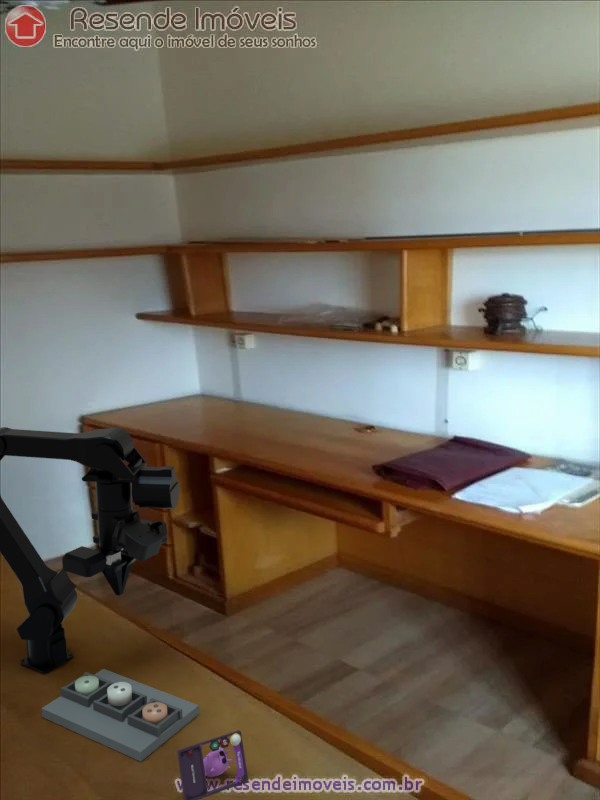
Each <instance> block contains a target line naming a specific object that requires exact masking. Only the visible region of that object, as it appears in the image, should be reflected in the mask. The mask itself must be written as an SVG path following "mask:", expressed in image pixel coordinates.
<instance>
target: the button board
mask: <svg viewBox="0 0 600 800" xmlns="http://www.w3.org/2000/svg"><path fill="white" fill-rule="evenodd" d="M84 676H95V677H97V678H98V680H99V688H98V689H97V690H95V691H94V692H92V693H91V694H89V695H88V696H85V695H82V694H80V693H77V692H75V682H76V680H77V679H79V678H81V677H84ZM117 682H127V683H129V684H130V685H131V687H132V700H131V701H130V702H129V703H128V704H126V705H123V706H113V705H110V704H109V703H108V694H107V689H108V687H109V686H110V685H112V684H114V683H117ZM154 702H160V703H163V704H165V705H166V706H167V717H166V718H165V719H164V720H162V721H161V722H160V723H159V724H157V725H154V724H152V723H150V722H147V721H145V720H143V713H142V710H143V708H144V707H145V706H146V705H147V704H150V703H154ZM199 715H200V705H198V704H197V703H193V702H191V701H188V700H187V699H186V700H185V699H183V698H181V697H178V696H175V695H173V694H170V693H167V692H166V691H162V690H159V689H158V688H155V687H152V686H149V685H146V684H145V683H141V682H139V681H137V680H134V679H131V678H129V677H126V676H124V675H121V674H118V673H115V672H113V671H111V670H109V669H108V670H107V669H106V668H103V669H100V670H99V671H98V672H96V673H95V674H92V673H90V672H88V671H86V672H84V673H83V675H80V676H79V677H78V678H76V679H74V680H73V681H71V682H69V683H68V684H67V685H65V686H61V687H60V696H59V697H57V698H55V699H53V701H51V702H50V703H48V704H46V705H44V706H43V707H41V717H42V718H43V717H44V719H46V720H48V721H49V722H52V723H55V724H56V725H58V726H61V727H64V728H66V729H67V730H70V731H71V732H72V731H73V732H74V733H76V734H78V735H80V736H83V737H85V738H88V739H90V740H92V741H94V742H95V743H96V742H97V743H99V744H101V745H102V746H105V747H107V748H110V749H112V750H115V751H116V752H118V753H121V754H123V755H125V756H127V757H129V758H132V759H134V760H136V761H138V762H142V761H144V760H145V759H146V758H147V757H149V755H151V754H152V753H153V752H155V751H156V750H157V749H159V748H160V747H161V746H162V745H163V744H165V743H166V742H167V741H168V740H170V739H171V738H172V737H173V736H174V735H176V733H178V732H179V731H180V730H182V729H183V728H184V727H186V725H188V724H189V723H191V721H193V720H194V719H195V718H197V717H198V716H199Z"/></svg>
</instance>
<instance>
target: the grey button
mask: <svg viewBox="0 0 600 800" xmlns="http://www.w3.org/2000/svg"><path fill="white" fill-rule="evenodd" d="M107 694H108V703H109V704H110V705H113V706H123V705H126V704H128V703H129V702H130V701H131V700H132V687H131V685H130V684H129V683H127V682H117V683H114V684H112V685H110V686H109V687H108V689H107Z"/></svg>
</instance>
